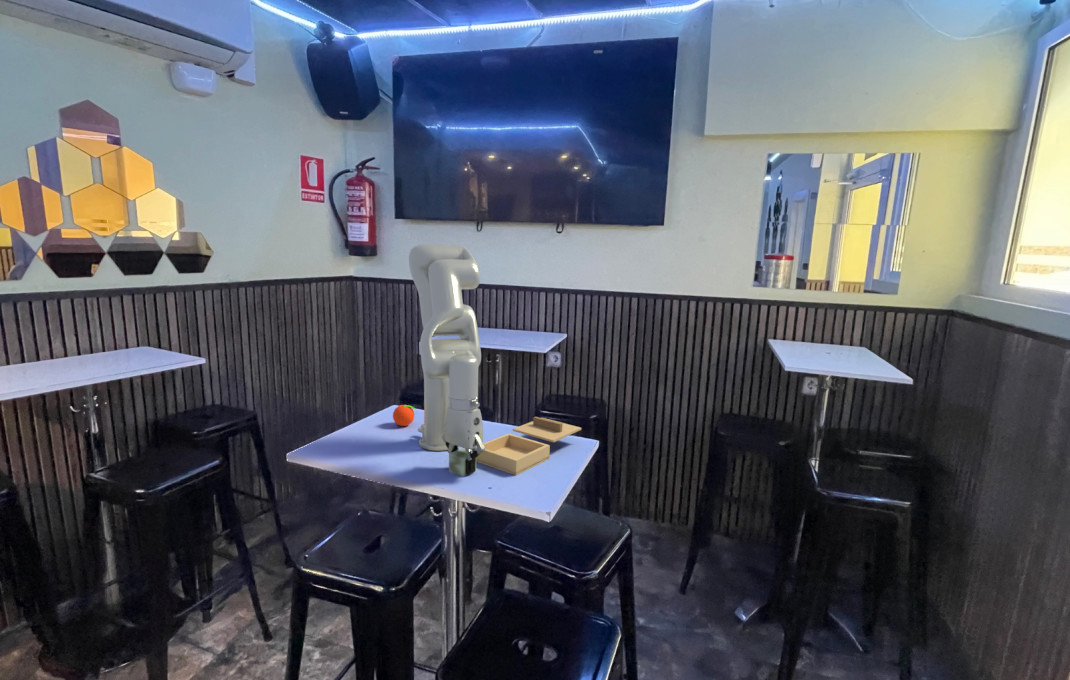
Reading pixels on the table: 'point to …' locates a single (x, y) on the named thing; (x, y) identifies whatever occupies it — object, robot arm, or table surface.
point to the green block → (458, 462)
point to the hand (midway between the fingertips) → (462, 469)
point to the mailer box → (513, 453)
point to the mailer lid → (547, 429)
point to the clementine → (403, 415)
